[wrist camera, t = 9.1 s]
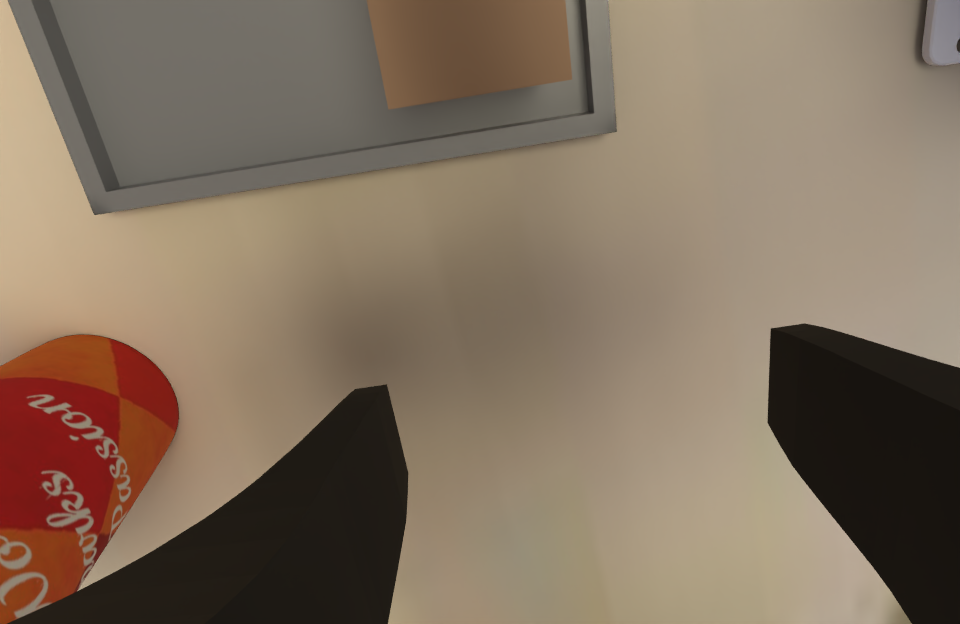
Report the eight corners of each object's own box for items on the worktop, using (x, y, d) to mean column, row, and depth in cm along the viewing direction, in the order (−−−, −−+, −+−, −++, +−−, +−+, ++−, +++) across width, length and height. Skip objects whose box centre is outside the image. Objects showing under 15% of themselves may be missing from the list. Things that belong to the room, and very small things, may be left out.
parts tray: (586, -175, 16) (596, -193, 15) (607, 127, 19) (616, 131, 17) (8, -71, 16) (-25, -81, 15) (115, 206, 19) (94, 214, 18)
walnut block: (527, -86, 16) (552, -145, 11) (544, 75, 18) (572, 79, 13) (379, -60, 16) (345, -108, 12) (408, 97, 18) (388, 109, 13)
